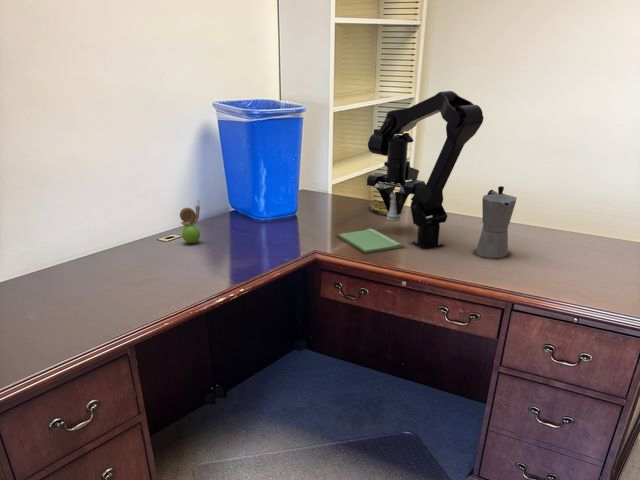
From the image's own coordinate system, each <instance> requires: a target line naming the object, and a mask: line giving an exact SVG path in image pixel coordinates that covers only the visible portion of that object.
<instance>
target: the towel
mask: <svg viewBox="0 0 640 480" xmlns="http://www.w3.org/2000/svg"><path fill="white" fill-rule="evenodd" d="M338 237H339V238H340V239H342V240H343V241H345V242H347V243H348V244H350V245H351V246H354V247H355V248H357V249H358V250H360V251H362V252H363V253H365V254H370V253H376V252H382V251H388V250H393V249H400V248H403V244H402V243H400V242H398V241H396V240H394V239H393V238H390V237H389V236H387V235H386V234H383V233H382V232H379V231H378V230H375V229H374V228H371V227H370V228H367V229H364V230H358V231H351V232H344V233H339V234H338Z"/></svg>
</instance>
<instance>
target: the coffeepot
mask: <svg viewBox="0 0 640 480" xmlns="http://www.w3.org/2000/svg"><path fill="white" fill-rule="evenodd" d="M504 189H505V186H503V185H500V186H498V187H497V191H495V190H494V189H490V190H489V191H487V194H485V195H483V197H482V198H481V199H482V206H481V207H482V229H481V233H480V236H479V239H478V243H477V247H476V250H475V254H476V255H477V256H479V257H481V258H487V259H502V258H505V257H507V256H508V253H509V237H508V236H509V231H508V229H509V225H510V222H511V219H512V216H513V213H514V210H515V206H516V202H517V200H518V199H517V198H518V197H517V196H513V195H510V194H506V193H504Z"/></svg>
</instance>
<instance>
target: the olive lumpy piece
mask: <svg viewBox="0 0 640 480" xmlns="http://www.w3.org/2000/svg"><path fill="white" fill-rule="evenodd" d="M370 210H371V211H372V212H373V213H376V214H379V215H381V216H382V215H383V216H387V214H388V211H387V209H386V206H385V204H384V201H383V200H377V201H376V202H375V203H372V204H371V205H370Z"/></svg>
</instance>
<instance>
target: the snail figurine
mask: <svg viewBox="0 0 640 480" xmlns="http://www.w3.org/2000/svg"><path fill="white" fill-rule="evenodd" d="M197 203H198V204H196V205H195V207H194V208H195V211H194V209H193V208H191V207H184V208H182V209H181V210H180V211H179V218H180V220H181V222H180V224H181V225H183V226H184V227H183V228H182V230H181V237H182V240H184V242H186V243H188V244H195V243H198V241H199V240H200V238H201V231H200V229H199V228H198V227H197V226H196V223H198V221H199V219H200V210H201V205H200V200H197Z"/></svg>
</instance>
